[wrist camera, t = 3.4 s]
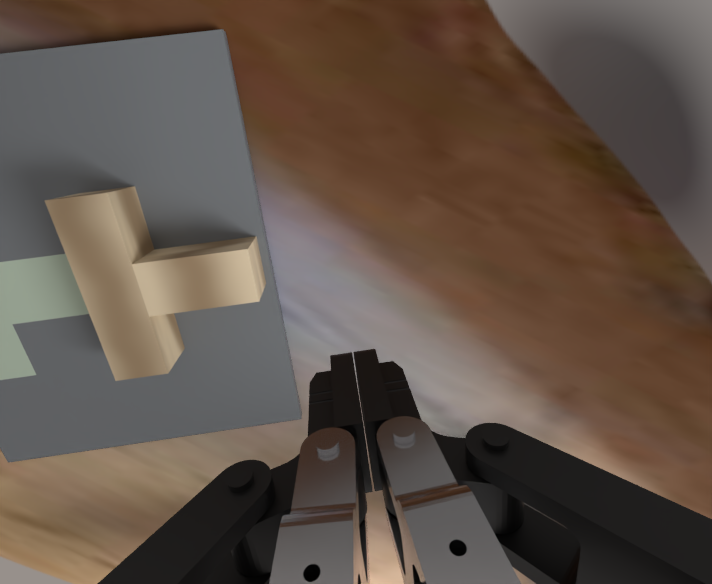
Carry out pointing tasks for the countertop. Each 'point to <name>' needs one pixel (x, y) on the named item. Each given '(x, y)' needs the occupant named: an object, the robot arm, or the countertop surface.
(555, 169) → the countertop surface
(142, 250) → the t block
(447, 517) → the robot arm
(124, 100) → the board
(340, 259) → the countertop surface
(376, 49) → the countertop surface
